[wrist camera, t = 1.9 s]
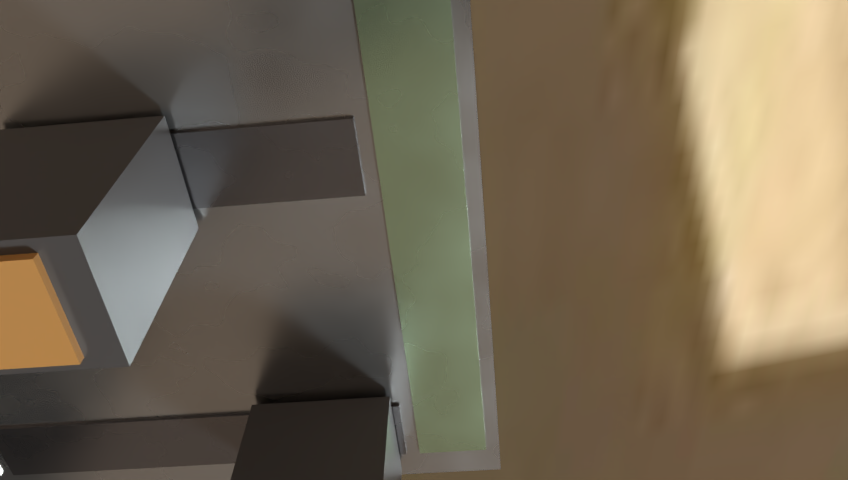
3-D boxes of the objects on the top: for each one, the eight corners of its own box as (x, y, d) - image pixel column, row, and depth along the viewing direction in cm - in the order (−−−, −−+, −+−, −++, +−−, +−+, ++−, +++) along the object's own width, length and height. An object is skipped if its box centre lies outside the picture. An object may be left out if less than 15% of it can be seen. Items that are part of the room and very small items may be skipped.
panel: (-34, 464, 26) (-58, 500, 25) (-570, -412, 14) (-671, -428, 13) (497, 434, 25) (500, 471, 24) (431, -556, 13) (430, -589, 11)
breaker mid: (42, 240, 19) (-75, 386, 15) (-6, 130, 18) (-152, 258, 13) (199, 228, 19) (126, 373, 15) (164, 115, 17) (72, 241, 13)
